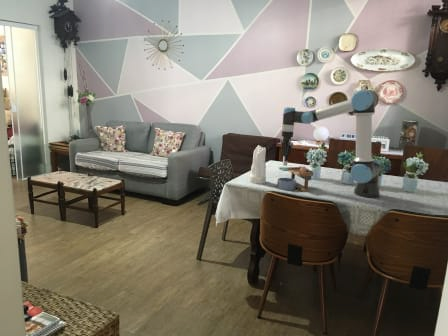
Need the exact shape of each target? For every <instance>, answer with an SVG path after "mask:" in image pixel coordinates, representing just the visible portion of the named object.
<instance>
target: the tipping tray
mask: <svg viewBox="0 0 448 336" xmlns="http://www.w3.org/2000/svg"><path fill="white" fill-rule="evenodd" d="M301 167H303V166H301V165H300V166H295V167H294V166H281V167H280V166H279V167H278V169H279V170H281V171H283V172H289V173H290V174H292V173H293V174H295V176H297V177H299V178H302V179H303V180H305V176H309V180H308V181H312V177H314V171H313V170H311V169H309V168H306V172H301V171H300V168H301Z"/></svg>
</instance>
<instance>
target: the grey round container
mask: <svg viewBox="0 0 448 336" xmlns="http://www.w3.org/2000/svg"><path fill="white" fill-rule="evenodd" d="M296 182H297V179H292V178H291V177H279V178H278V179H277V185H276V187H277V188H278V190H282V191H294V190H296Z"/></svg>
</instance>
